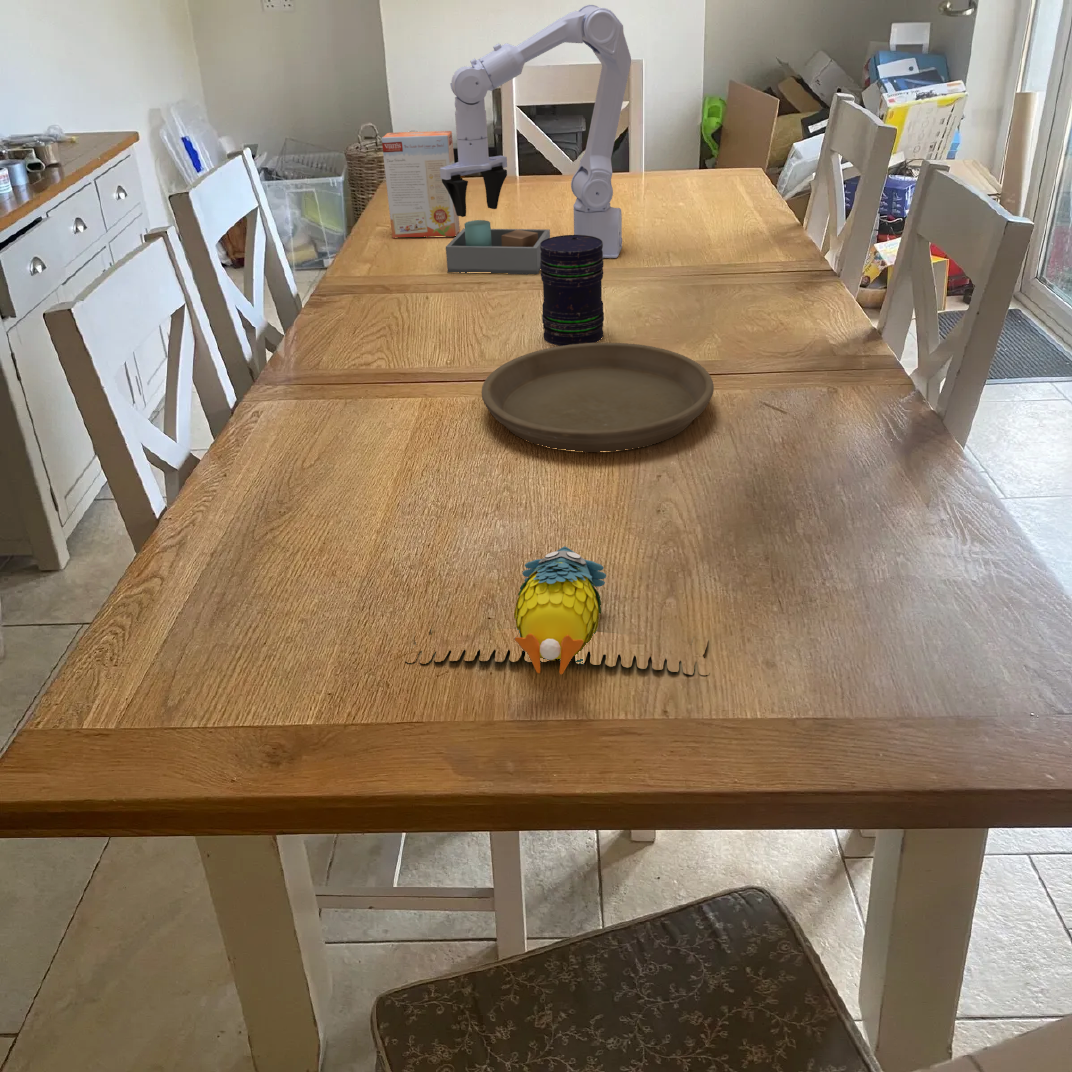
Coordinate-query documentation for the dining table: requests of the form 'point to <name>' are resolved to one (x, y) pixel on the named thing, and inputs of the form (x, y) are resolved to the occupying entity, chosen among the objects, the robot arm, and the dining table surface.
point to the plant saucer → (598, 395)
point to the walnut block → (519, 239)
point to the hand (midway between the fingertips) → (477, 212)
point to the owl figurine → (558, 606)
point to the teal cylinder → (478, 233)
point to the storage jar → (572, 289)
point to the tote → (495, 255)
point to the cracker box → (419, 183)
